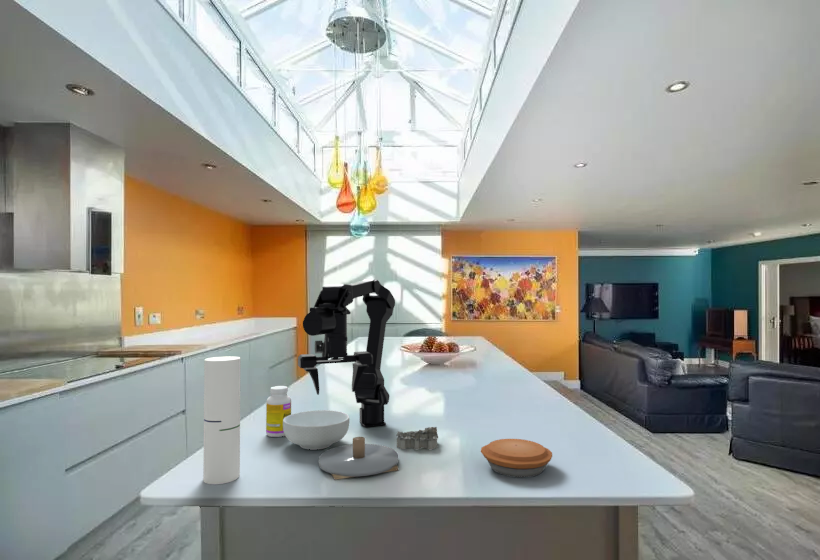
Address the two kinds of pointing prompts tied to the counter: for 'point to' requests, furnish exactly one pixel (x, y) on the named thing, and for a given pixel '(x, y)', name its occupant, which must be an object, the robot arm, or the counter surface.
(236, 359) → the cylindrical container
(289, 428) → the cereal bowl
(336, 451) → the lid
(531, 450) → the pie
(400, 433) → the egg carton
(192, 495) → the counter surface
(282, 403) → the supplement bottle
